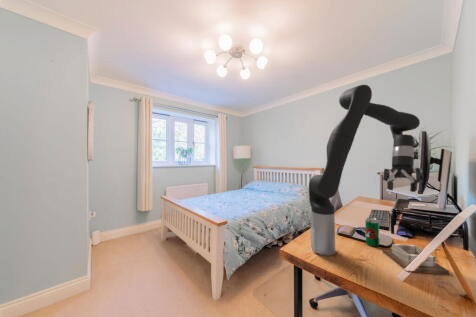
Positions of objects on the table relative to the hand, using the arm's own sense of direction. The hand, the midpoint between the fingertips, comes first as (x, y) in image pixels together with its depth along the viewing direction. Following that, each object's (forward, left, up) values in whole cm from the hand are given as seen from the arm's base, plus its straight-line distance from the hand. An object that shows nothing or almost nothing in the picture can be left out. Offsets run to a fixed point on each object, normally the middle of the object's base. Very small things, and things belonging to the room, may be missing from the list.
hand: (401, 190), depth 81 cm
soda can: (-13, -1, -25) cm, 29 cm away
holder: (-6, -14, -25) cm, 29 cm away
